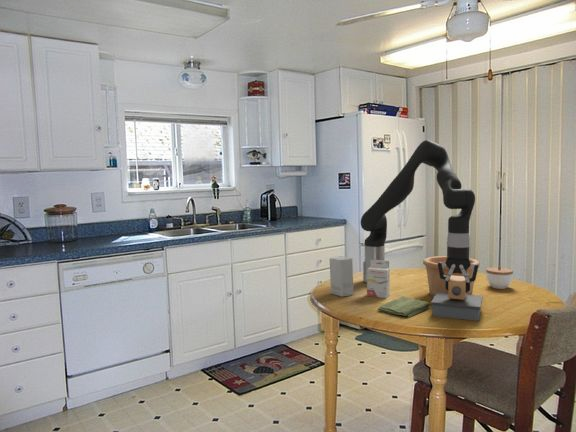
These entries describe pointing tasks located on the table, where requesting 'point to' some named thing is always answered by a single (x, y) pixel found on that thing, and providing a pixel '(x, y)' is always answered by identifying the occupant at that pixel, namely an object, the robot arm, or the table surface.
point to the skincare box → (341, 276)
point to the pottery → (434, 277)
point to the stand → (457, 306)
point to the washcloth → (404, 306)
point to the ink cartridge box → (378, 279)
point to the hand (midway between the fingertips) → (457, 291)
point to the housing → (457, 287)
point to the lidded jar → (499, 277)
